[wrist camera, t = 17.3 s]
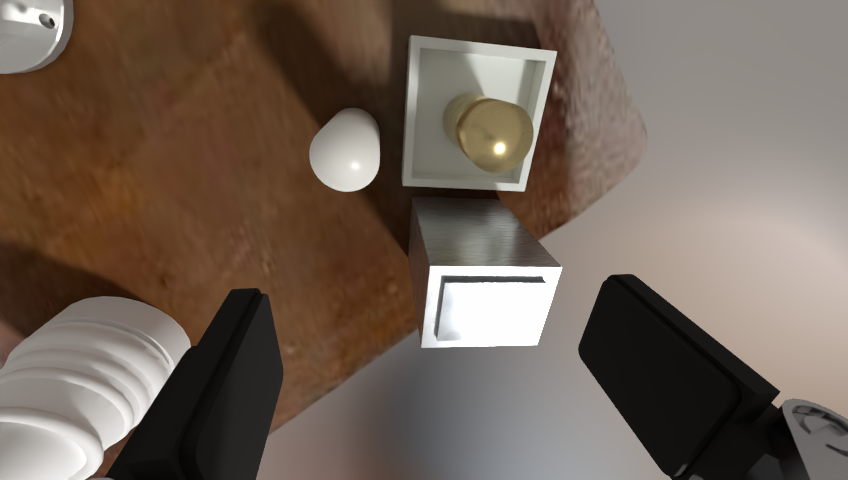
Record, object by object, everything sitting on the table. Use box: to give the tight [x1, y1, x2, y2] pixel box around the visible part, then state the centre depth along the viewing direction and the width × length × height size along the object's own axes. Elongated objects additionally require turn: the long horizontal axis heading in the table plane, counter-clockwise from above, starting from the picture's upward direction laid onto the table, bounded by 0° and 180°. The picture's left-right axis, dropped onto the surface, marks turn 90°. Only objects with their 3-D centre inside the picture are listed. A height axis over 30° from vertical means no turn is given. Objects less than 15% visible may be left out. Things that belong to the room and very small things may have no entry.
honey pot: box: [0, 296, 191, 480], centre depth 28 cm, size 13×13×18 cm
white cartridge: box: [309, 108, 380, 192], centre depth 25 cm, size 4×4×9 cm
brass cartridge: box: [443, 93, 534, 173], centre depth 25 cm, size 4×4×9 cm
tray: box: [401, 35, 557, 191], centre depth 28 cm, size 11×11×2 cm
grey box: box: [408, 196, 562, 348], centre depth 29 cm, size 7×9×13 cm
